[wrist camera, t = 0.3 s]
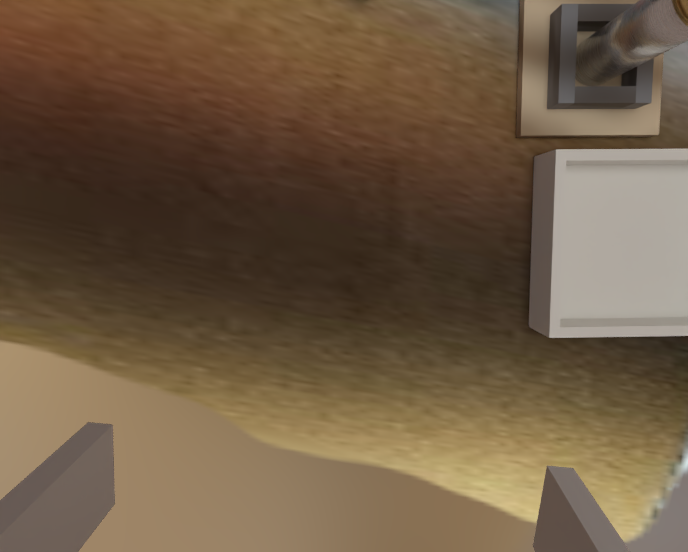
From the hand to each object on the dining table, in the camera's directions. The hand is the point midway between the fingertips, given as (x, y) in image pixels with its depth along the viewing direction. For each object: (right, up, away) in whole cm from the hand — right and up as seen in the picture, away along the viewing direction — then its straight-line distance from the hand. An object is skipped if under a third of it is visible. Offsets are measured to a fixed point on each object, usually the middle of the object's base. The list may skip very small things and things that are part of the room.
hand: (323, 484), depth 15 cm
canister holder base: (+20, +23, +25) cm, 39 cm away
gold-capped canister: (+20, +23, +24) cm, 38 cm away
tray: (+23, +9, +26) cm, 36 cm away
